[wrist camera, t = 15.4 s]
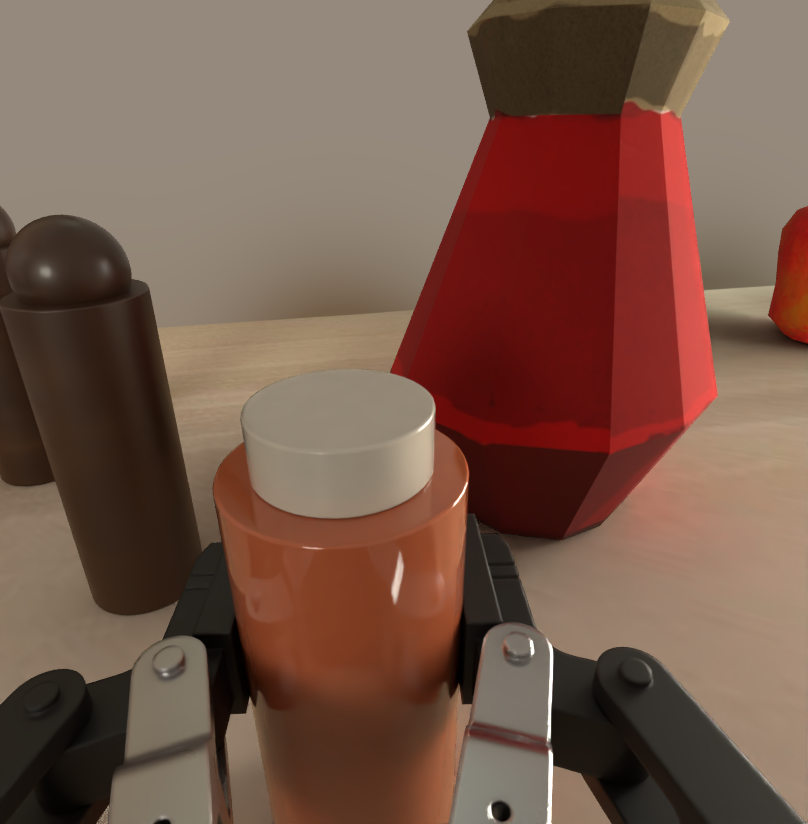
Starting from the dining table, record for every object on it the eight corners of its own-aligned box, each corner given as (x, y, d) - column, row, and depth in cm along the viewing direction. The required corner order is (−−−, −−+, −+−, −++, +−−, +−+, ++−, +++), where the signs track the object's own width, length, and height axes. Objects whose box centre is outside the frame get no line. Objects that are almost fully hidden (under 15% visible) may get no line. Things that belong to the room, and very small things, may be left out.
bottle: (469, 394, 37) (487, 25, 28) (699, 441, 31) (811, -5, 22) (327, 526, 25) (280, -58, 16) (663, 646, 19) (883, -173, 10)
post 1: (14, 496, 27) (-95, 197, 21) (-9, 465, 29) (-112, 191, 24) (102, 463, 30) (26, 190, 24) (74, 438, 32) (-1, 185, 26)
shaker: (358, 968, 12) (316, 516, 7) (240, 809, 14) (150, 405, 9) (488, 803, 14) (525, 400, 10) (369, 697, 17) (351, 341, 12)
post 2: (118, 634, 19) (-6, 230, 14) (75, 577, 22) (-44, 216, 16) (224, 574, 22) (157, 214, 16) (175, 530, 25) (102, 204, 19)
